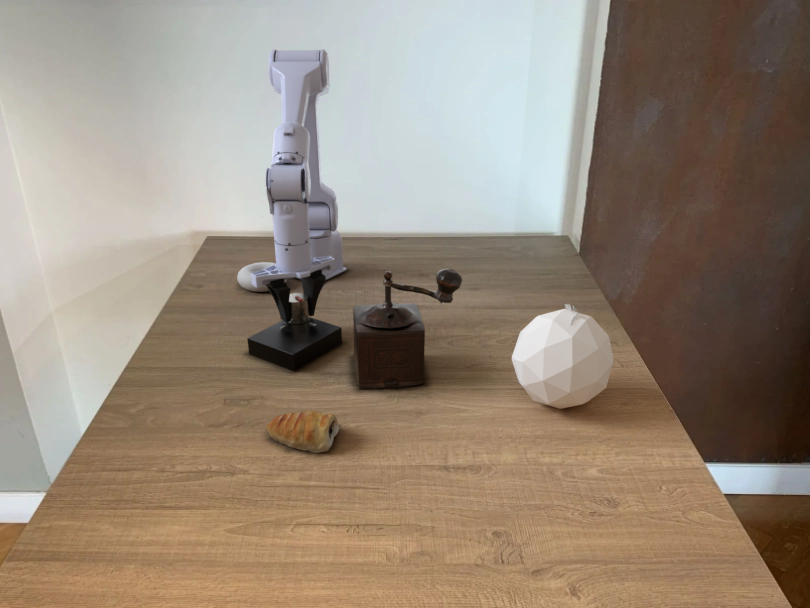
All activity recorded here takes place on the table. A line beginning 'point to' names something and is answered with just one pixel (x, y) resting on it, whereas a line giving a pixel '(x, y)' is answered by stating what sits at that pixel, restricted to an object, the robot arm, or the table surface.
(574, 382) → the geodesic sphere
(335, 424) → the pastry
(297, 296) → the stove knob
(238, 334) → the table surface
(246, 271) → the donut
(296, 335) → the stove
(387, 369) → the manual coffee grinder
